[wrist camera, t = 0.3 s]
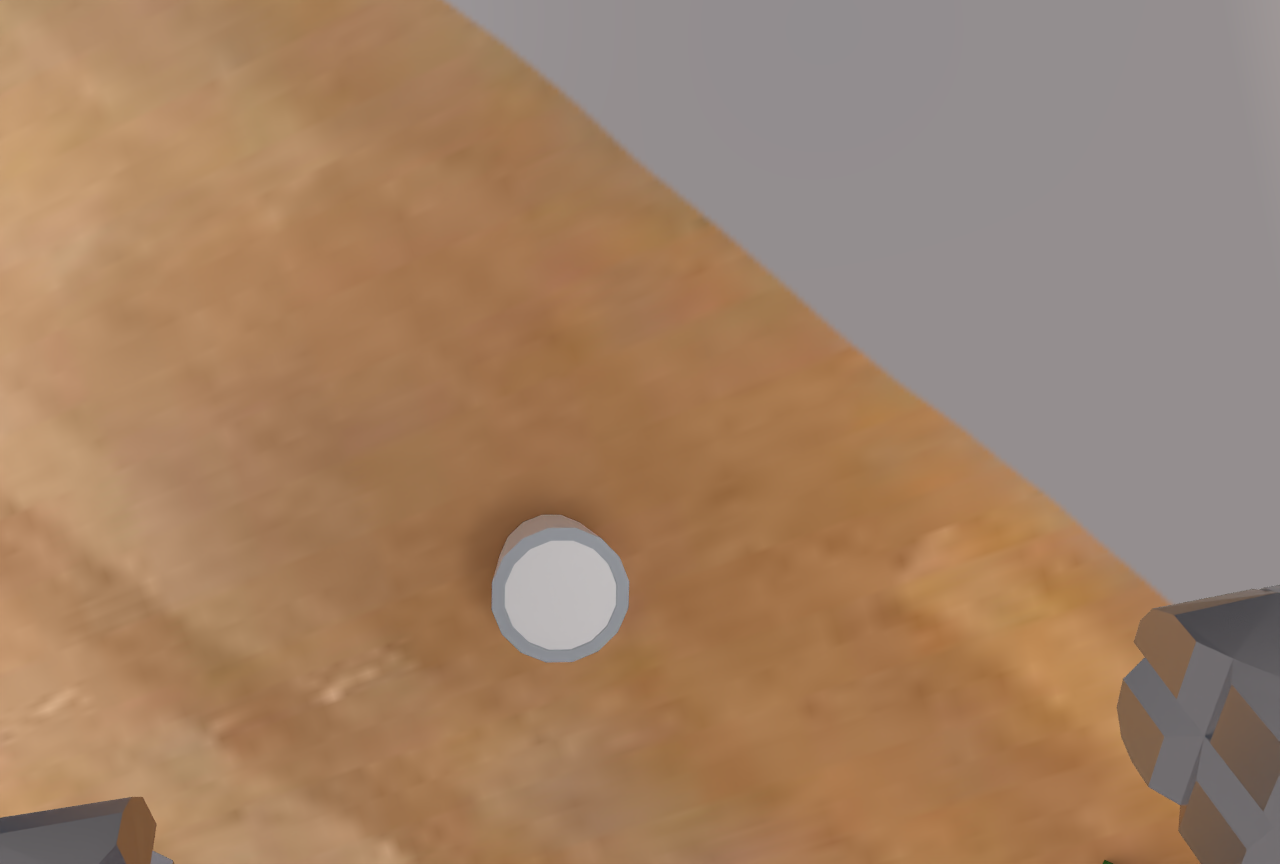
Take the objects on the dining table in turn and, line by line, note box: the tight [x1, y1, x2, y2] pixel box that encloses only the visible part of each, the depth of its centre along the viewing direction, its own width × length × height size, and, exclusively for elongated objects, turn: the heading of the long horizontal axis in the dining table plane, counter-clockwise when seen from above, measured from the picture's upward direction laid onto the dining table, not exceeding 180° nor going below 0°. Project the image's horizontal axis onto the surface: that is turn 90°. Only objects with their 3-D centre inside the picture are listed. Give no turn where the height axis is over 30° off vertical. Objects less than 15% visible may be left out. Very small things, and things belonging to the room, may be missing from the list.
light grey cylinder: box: [492, 515, 629, 662], centre depth 61 cm, size 7×7×7 cm
